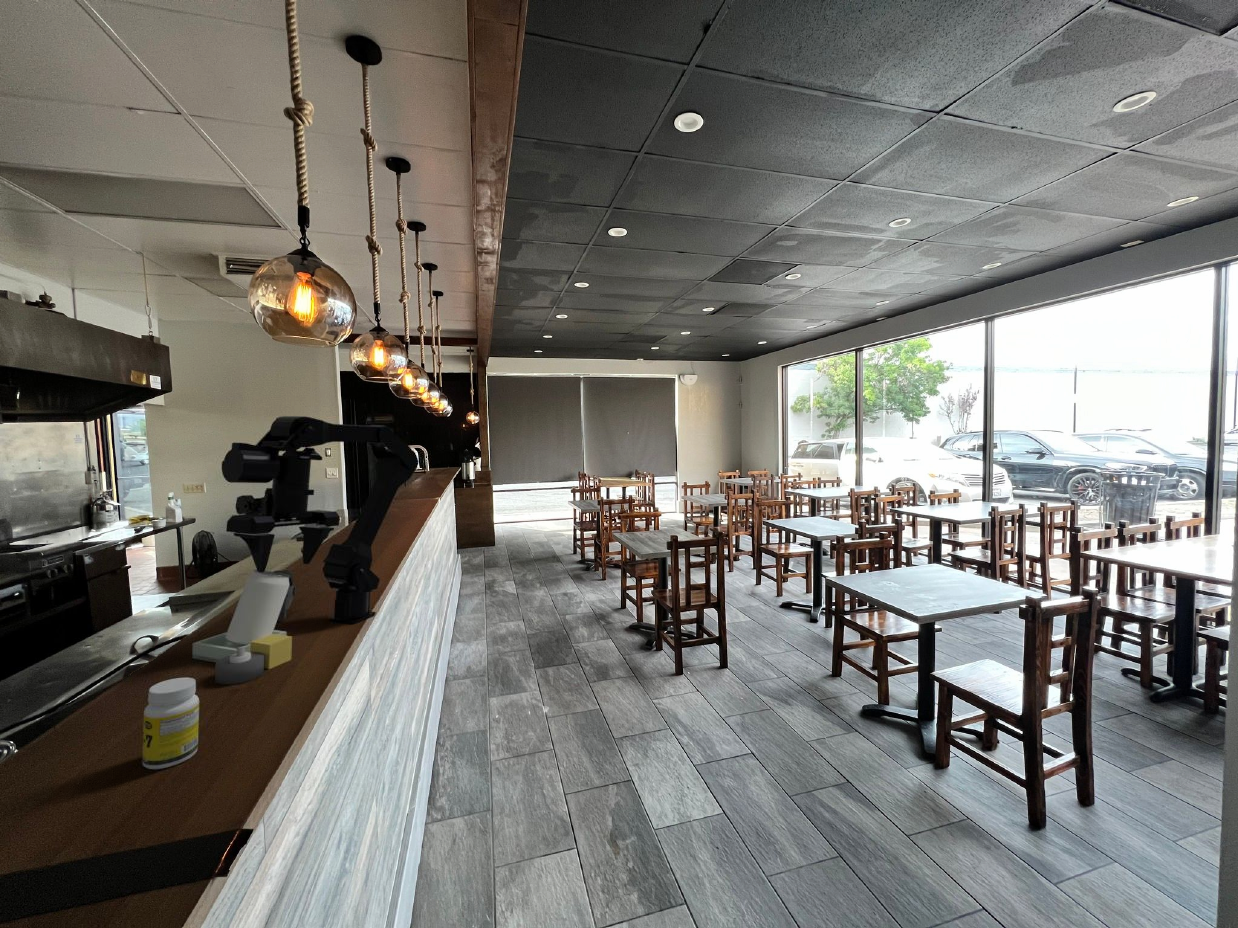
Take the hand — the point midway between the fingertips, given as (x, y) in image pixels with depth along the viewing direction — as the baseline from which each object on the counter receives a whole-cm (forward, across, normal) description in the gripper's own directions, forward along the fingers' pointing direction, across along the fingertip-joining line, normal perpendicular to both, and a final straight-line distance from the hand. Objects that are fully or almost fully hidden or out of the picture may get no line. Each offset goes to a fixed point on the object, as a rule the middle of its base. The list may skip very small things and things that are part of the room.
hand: (284, 567), depth 91 cm
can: (+12, +5, -1) cm, 13 cm away
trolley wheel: (+14, +13, +7) cm, 20 cm away
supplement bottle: (+15, +31, +19) cm, 39 cm away
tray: (+14, +6, -2) cm, 15 cm away
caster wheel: (+14, -10, -12) cm, 21 cm away
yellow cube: (+14, +7, +7) cm, 17 cm away
